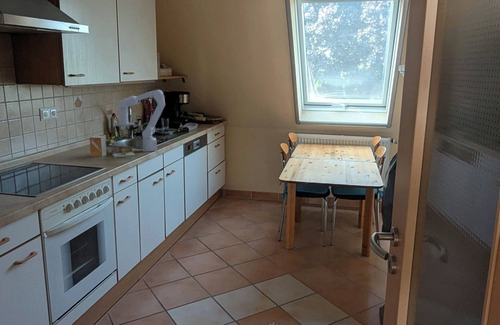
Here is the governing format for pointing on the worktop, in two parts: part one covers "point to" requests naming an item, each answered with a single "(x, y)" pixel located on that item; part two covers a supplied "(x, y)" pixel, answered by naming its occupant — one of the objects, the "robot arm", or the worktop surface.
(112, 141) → the beige rectangular bar
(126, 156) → the mat
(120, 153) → the mint green slab
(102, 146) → the small box
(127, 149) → the open brown box
